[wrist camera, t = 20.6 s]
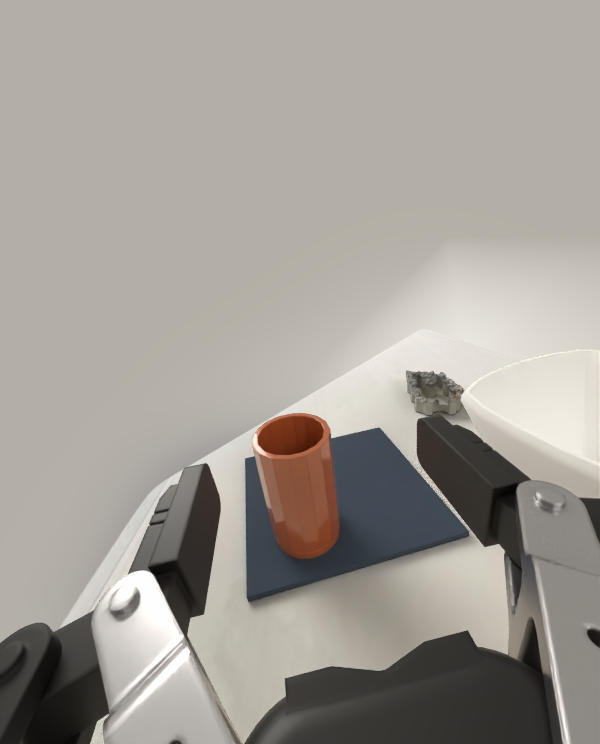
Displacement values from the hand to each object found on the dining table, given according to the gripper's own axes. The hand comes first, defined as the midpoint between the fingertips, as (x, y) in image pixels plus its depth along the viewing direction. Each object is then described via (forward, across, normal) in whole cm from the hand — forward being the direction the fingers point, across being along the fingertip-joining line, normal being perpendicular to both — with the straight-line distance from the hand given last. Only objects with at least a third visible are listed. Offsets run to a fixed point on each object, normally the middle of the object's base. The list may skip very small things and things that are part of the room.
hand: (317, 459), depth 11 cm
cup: (+12, +1, +18) cm, 21 cm away
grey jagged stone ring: (+31, -23, +19) cm, 43 cm away
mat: (+16, -2, +18) cm, 24 cm away
